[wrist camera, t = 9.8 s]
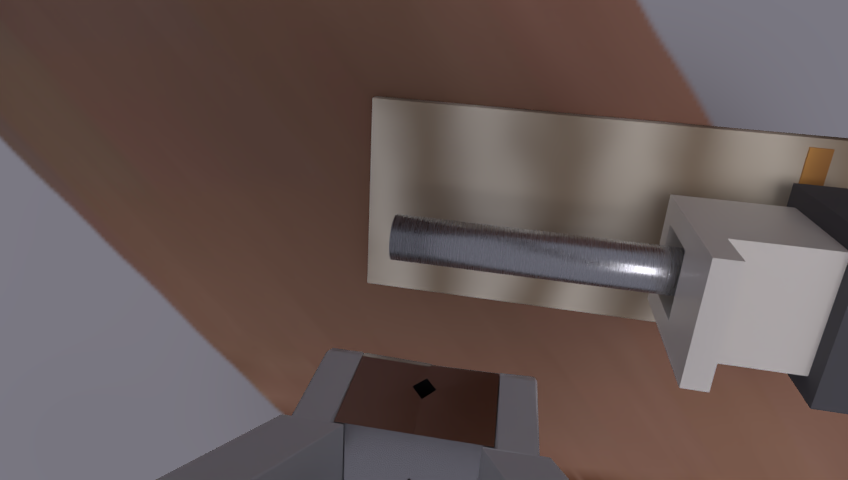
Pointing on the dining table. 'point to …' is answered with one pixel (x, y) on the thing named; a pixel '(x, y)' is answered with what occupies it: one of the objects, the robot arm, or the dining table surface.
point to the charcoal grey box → (844, 333)
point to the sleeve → (745, 288)
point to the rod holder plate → (565, 185)
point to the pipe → (537, 254)
